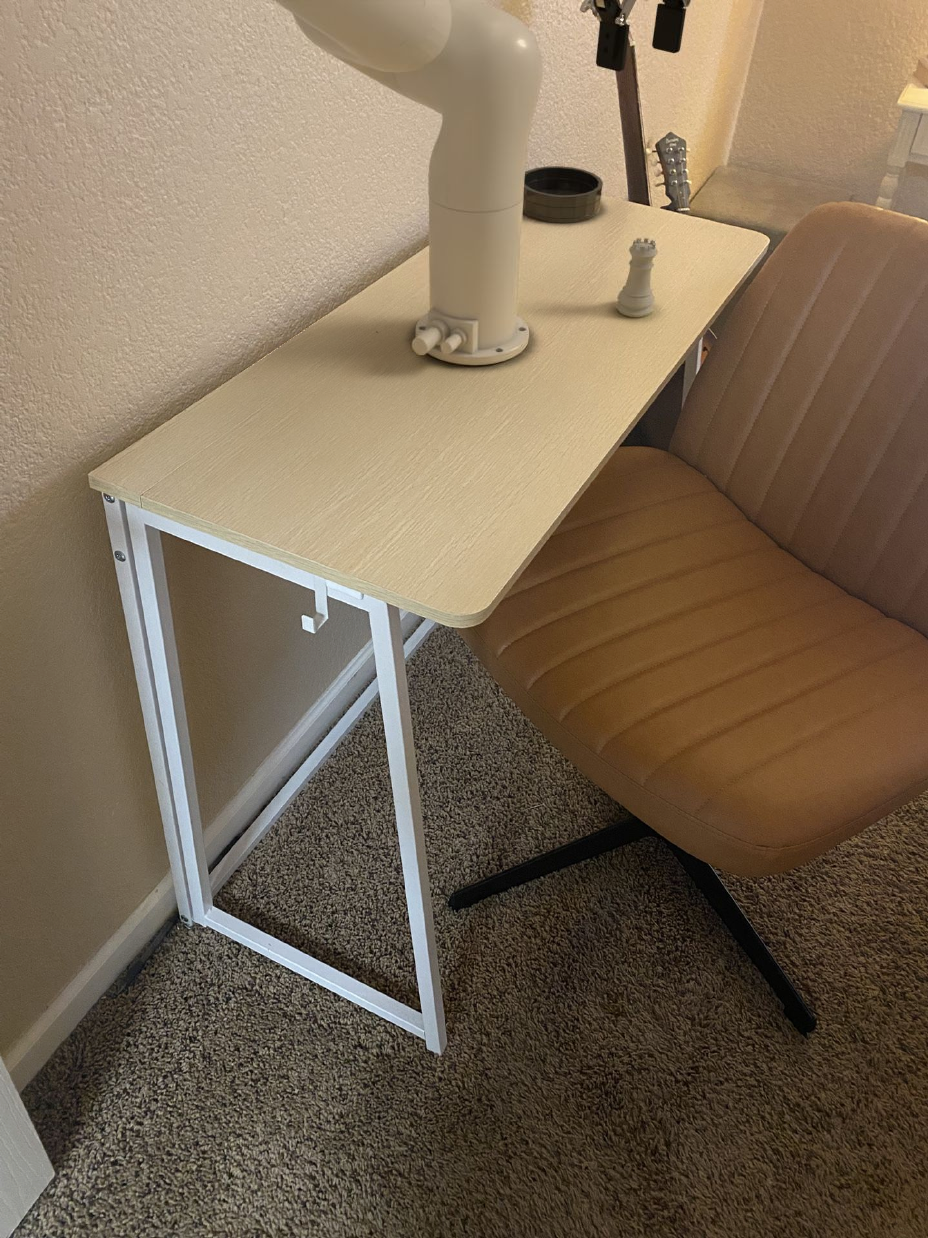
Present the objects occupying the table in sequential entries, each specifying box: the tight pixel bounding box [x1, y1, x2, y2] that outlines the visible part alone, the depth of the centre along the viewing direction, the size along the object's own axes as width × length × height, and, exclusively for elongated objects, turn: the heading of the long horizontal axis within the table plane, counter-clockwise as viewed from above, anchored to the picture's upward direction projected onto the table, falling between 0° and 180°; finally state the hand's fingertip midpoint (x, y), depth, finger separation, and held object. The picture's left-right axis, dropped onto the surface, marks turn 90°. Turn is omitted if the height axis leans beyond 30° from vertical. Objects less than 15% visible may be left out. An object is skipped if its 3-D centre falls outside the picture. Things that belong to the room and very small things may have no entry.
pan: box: [523, 165, 604, 224], centre depth 131 cm, size 12×12×4 cm
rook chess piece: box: [615, 237, 659, 318], centre depth 108 cm, size 4×4×8 cm
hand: (638, 58), depth 96 cm, fingers open, 9 cm apart
